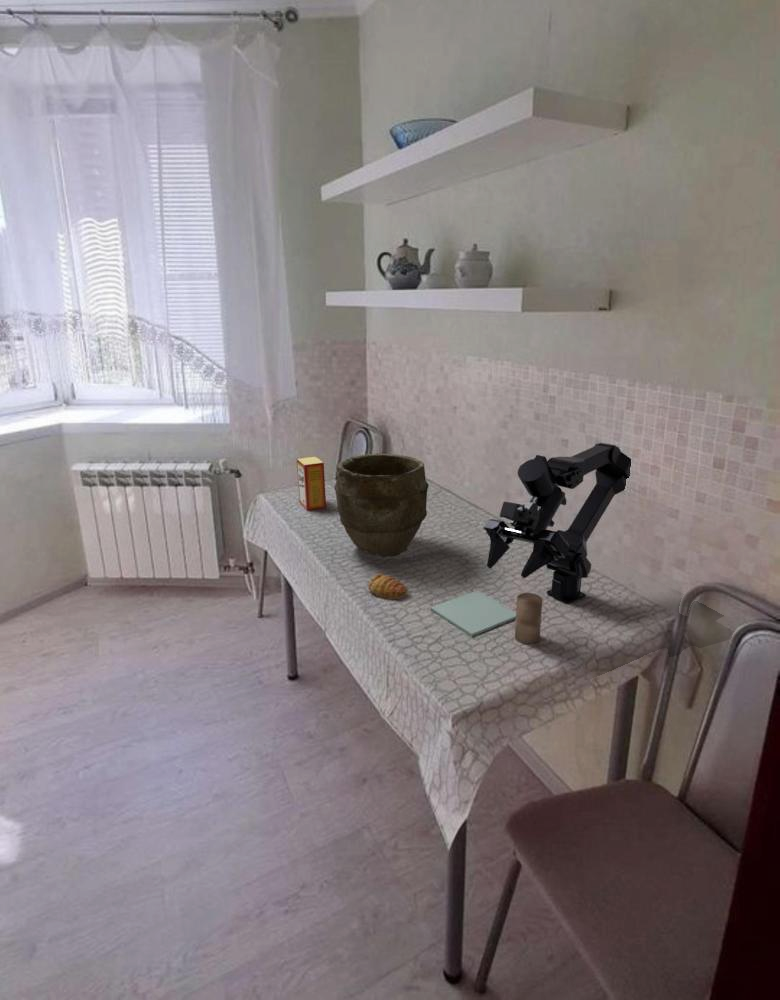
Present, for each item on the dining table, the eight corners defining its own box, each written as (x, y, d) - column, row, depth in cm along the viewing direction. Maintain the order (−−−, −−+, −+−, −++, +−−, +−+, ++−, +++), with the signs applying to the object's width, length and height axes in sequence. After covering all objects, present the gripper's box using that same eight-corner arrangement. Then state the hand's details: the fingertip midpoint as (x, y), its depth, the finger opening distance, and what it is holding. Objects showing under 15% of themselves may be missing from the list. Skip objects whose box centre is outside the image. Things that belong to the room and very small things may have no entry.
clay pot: (406, 526, 188) (405, 446, 180) (444, 556, 166) (445, 467, 158) (326, 539, 179) (322, 456, 171) (355, 573, 157) (351, 480, 149)
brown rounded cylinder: (526, 629, 130) (529, 590, 127) (544, 639, 126) (547, 599, 123) (509, 636, 127) (511, 597, 125) (527, 647, 123) (530, 607, 121)
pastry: (413, 593, 147) (413, 578, 146) (396, 604, 142) (396, 589, 141) (382, 583, 152) (382, 569, 151) (365, 593, 147) (364, 579, 146)
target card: (477, 592, 146) (477, 590, 146) (520, 616, 135) (520, 614, 135) (430, 609, 139) (430, 607, 138) (471, 636, 128) (471, 633, 127)
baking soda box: (299, 502, 212) (296, 457, 207) (317, 499, 214) (315, 455, 209) (307, 510, 203) (304, 464, 198) (326, 508, 206) (323, 461, 201)
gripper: (488, 481, 131) (451, 541, 127) (559, 491, 116) (520, 559, 112) (514, 512, 137) (480, 570, 133) (585, 524, 122) (549, 590, 118)
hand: (505, 571), depth 123 cm, fingers open, 9 cm apart
